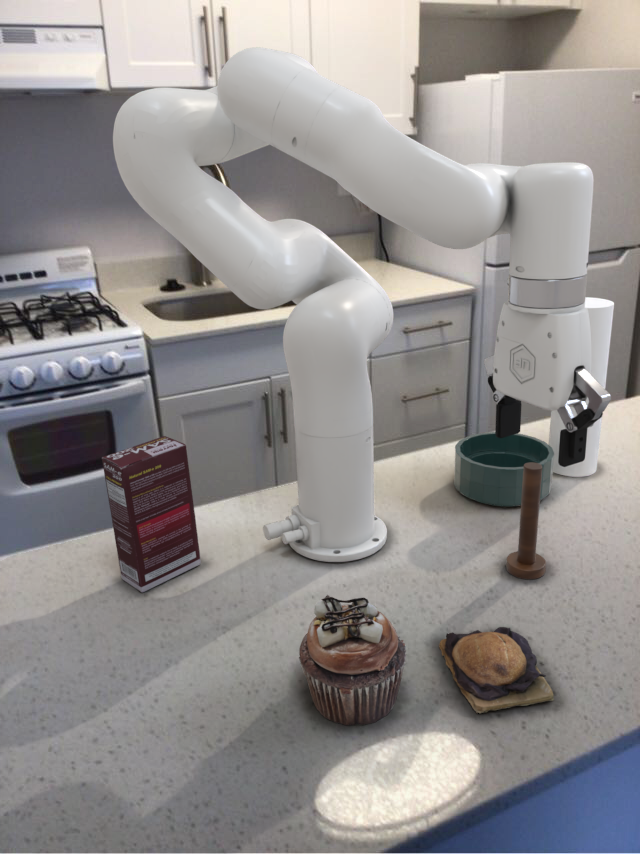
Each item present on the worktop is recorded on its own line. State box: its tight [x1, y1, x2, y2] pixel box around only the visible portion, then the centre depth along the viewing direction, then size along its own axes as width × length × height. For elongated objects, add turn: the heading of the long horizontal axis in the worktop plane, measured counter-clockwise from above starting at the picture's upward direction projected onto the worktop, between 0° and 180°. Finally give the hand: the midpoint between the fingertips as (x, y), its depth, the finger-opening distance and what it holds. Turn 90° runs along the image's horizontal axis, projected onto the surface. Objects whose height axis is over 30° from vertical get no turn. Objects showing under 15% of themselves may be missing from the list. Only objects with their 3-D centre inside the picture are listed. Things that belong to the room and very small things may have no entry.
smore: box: [438, 626, 555, 714], centre depth 71 cm, size 11×8×4 cm
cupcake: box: [298, 594, 407, 726], centre depth 68 cm, size 10×10×10 cm
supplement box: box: [101, 435, 202, 593], centre depth 87 cm, size 9×5×16 cm, turn 134°
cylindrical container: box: [548, 296, 615, 478], centre depth 109 cm, size 7×7×25 cm
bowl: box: [453, 431, 554, 508], centre depth 107 cm, size 13×13×6 cm
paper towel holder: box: [505, 462, 547, 580], centre depth 86 cm, size 4×4×13 cm
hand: (538, 448), depth 82 cm, fingers open, 9 cm apart
